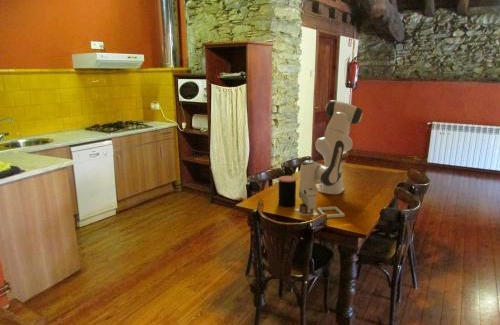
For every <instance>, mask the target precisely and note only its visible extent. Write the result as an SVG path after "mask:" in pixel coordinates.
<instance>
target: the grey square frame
mask: <svg viewBox="0 0 500 325" xmlns="http://www.w3.org/2000/svg"><path fill="white" fill-rule="evenodd" d="M316 209H317V210H316V212H317V213H318V214H320V215H321V216H322V214H325V213H324V212H323V211H333V210H335V211H336V213H332V214H331V213H330V214H326V215H327V218H326V219H330V218H341V217H343V218H344V217H345V213H344V212H343V211H342V210H341V209H339V208H338V207H337V206H327V207H326V206H324V207H323V206H322V207H317V208H316Z"/></svg>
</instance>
